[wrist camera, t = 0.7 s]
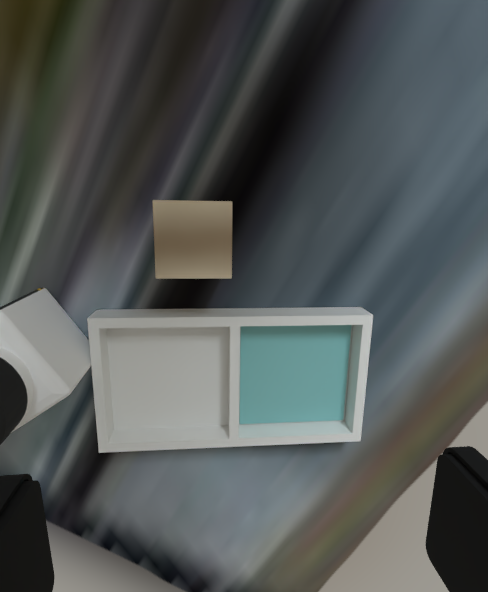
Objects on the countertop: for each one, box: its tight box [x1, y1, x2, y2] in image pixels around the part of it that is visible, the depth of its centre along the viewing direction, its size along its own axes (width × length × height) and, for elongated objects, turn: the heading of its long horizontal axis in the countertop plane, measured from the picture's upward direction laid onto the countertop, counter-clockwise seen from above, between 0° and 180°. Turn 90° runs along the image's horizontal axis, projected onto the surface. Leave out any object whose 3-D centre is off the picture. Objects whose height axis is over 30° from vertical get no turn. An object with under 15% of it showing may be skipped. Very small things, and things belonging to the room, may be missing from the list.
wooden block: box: [153, 200, 232, 279], centre depth 27 cm, size 5×5×6 cm
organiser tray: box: [87, 307, 373, 453], centre depth 32 cm, size 12×22×2 cm, turn 89°
